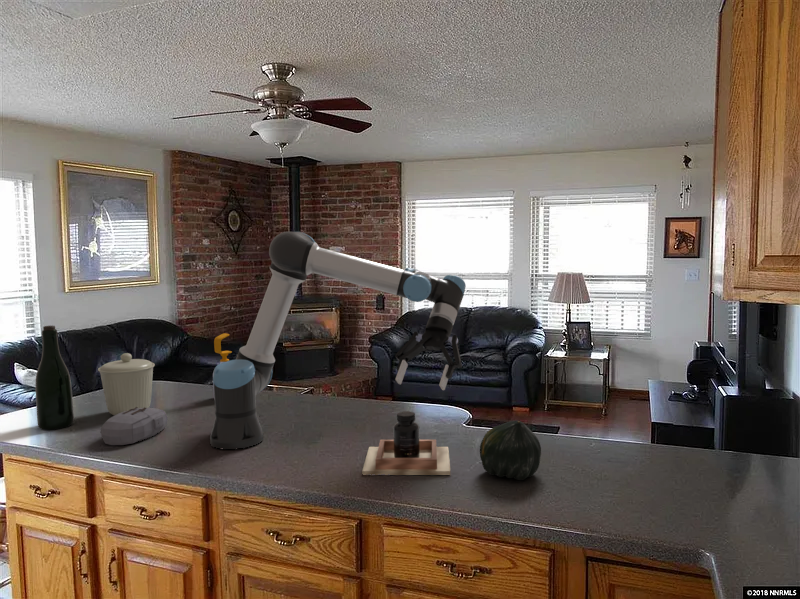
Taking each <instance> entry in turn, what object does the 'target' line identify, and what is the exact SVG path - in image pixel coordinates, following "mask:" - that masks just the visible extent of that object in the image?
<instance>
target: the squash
mask: <svg viewBox="0 0 800 599" xmlns="http://www.w3.org/2000/svg"><path fill="white" fill-rule="evenodd" d="M541 455H542V447H541V442H540V440H539V438H538V437H537V436H536V434H535V433H534V432H533V431H532V430H531V429H530V428H529V427H528V426H527V425H526V424H525V423H524V422H522V421H521V420H510V421H507V422H505V423H502V424H498V425H495V426H494V427H492V428H490V429H489V430H488V431H487V432H486V433H485V434H484V436H483V438H482V439H481V442H480V446H479V457H480V460H481V464H482V467H483V469H484V471H485V472H486V473H488V474H489V475H492V476H497V477H498V478H499V477H500V478H503V477H506V478H507V479H512V478H513V479H514V480H517V481H523V480H525V479H527V478H530V477H532V476H534V475H535V473H536V472H537V471H538V469H539V467H540V463H541Z"/></svg>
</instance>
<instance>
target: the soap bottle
mask: <svg viewBox="0 0 800 599" xmlns="http://www.w3.org/2000/svg"><path fill="white" fill-rule="evenodd" d="M229 336H230V334H229V333H224V332H223V333H222V334H219V335H217V336H216V337H215V338H214V341H213V346H214V352H215V353H216V354H220V356H221V359H219V360H220V361H219V364H220V363H223V362H227V361H230V359H229V358H228V357H227V356H229V354H231V353H232V352H233V351H231V350H222V345H221V344H222V343H221V342H222V340H224V339H225V338H227V337H229ZM213 376H214V371H213V373H212V377H213ZM212 385H213V386H212V387H213V391H214V382H212Z"/></svg>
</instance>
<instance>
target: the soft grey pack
mask: <svg viewBox="0 0 800 599" xmlns="http://www.w3.org/2000/svg"><path fill="white" fill-rule="evenodd" d="M168 421H169V420H168V415H167V412H166V411H165V410H163V409H160V408H158V407H157V408H156V407H155V408H154V407H149V408H145V407H144V408H138V407H135V408H134V409H130V410H129V411H124V412H122V413H119V414H117V415H115V416H114V415H112V416H111V417H109V418H108V419H107V420H106V421H104V423H103V424H102V425H101V427H100V431H99V432H100V434H101V437H102V439H103V440H102V441H103V442H104V444H106V445H109V446H124V445H125V446H126V445H130V444H134V443H139V442H143V441H145V440H148V439H150V438H153V437H154V436H156V435H158V434H159V433H161V432H162V431H163V430H164V429H166V427H167V425H168ZM160 431H161V432H160ZM157 433H158V434H157ZM152 436H153V437H152ZM149 437H150V438H149ZM147 438H148V439H147ZM144 439H145V440H144ZM142 440H143V441H142ZM138 441H139V442H138Z"/></svg>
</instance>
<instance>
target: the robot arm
mask: <svg viewBox="0 0 800 599" xmlns="http://www.w3.org/2000/svg"><path fill="white" fill-rule="evenodd" d="M268 254H269V258H270V261H271V264H270V265H269V269H270V272H271V274H272V275H271V278H270V280H269V283H268V284H267V285H268V286H267V288H266V291H265V293H264V296H263V300H262V302H261V305H260V307H259V309H258V313H257V315H256V319H255V320H254V324H253V327H252V329H251V331H250V334H249V337H248V340H247V342H246V345H243V346H241V347H240V348H239V350H238V353H237V354H236V358H235V359H231V360H230V359H229V361H227V362H223V363H220V362H219V363H218V364H217V365H216V366H215V367H214V368H213V369H214V370H213V372H214V376H213V375H212V381H213V382H214V390H213V399H214V413H215V414H214V415H215V416H214V422H213V426H212V428H211V431H210V432H211V433H210V437H209V439H210V440H209V442H210V444H211V445H210V446H211V447H212V446H213V447H212V448H214V447H216V448H215V449H217V448H223V449H235V450H237V449H236V448H243V449H246V448H245V447H248V448H250V447H249V446H252V447H254V446H253V445H255V446H257V445H259V444H261V443H262V442H263V441H264V431H263V428H262V426H261V424H260V420H259V418H258V415H257V402H256V399H257V398H256V396H257V395H259V393H260V392H262V391H264V390H265V389H266V388H267V387H268V386H269V385H270V382H271V380H272V378H273V367H274V365H275V362H276V358H275V356H274V352H275V348H276V345H277V343H278V341H279V338H280V336H281V334H282V330H283V328H284V325H285V323H286V319H287V316H288V314H289V312H290V310H291V307H292V304H293V302H294V301H293V300H294V297H295V296H296V293H297V290H298V288H299V285H300V284H302V283H304V282H306V280H307V278H308V276H309V275H312V274H316V275H318V276H319V275H320V276H323V277H327V278H330V279H335V280H338V281H343V282H345V283H350V284H353V285H356V286H360V287H363V288H368V289H373V290H376V291H380V292H384V293H387V294H391V295H395V296H398V297H401V298H405V299H408V300H410V301H411V302H415V303H421V302H423V301H425V300H427V302H428V301H429V302H432V303H433V306H432V309H431V312H430V314H429V318H428V320H427V323H426V325H425V328H424V329H425V330H424V332H423V333H419V332H418V331H414V332H413V334H412V336H411V338H409V339H408V340H407V342H405V344H404V345H402V347H401V348H400V349H399V350H398V351H397V352H396V353H395V355H394V357H395V358H396V360H397V361H398V364H397V366H396V372H397V374H396V376H395V379H394V380H395V381H396V384H398V385H402V383H403V380H404V377H405V374H406V372H407V368H408V366H409V364H408V362H410V361H411V360H413V359H414V358H415V357H416V356H418V355H419V354H420V353H422V352H425V351H427V350H428V351H437V352H438V351H441V352H442V354H443V356H444V357H445V359H446V361H447V364H445V366H444V368H443V372H442V375H441V378H440V382H439V384H438V386H439V387H440V389H441V390H442V391H445V390H446V387H447V384H448V380H450V379H452V378H453V374H454V372H455V369H462V367H463V362H462V360H461V354H460V349H459V342H460V340H459V339H458V336H457V335H456V334H454V335H453V336H451V335H452V330H453V328H454V324H455V321H456V319H457V316H458V312H459V311H460V306H461V305H462V304H461V303H462V302H463V298H464V295H465V291H466V282H465V280H464V279H463V278H461V277H460V276H458V275H455V274H453V275H452V274H447V275H445V276H444V277H443V278H439V277H436V276H433V275H431V274H428V273H426V272H424V271H420V270H418V269H417V268H416V269H415V268H412V267H406V268H405V269H401V268H397V267H393V266H390V265H387V264H382V263H378V262H375V261H371V260H368V259H364V258H361V257H357V256H353V255H351V254H345V253H342V252H339V251H335V250H330V249H327V248H324V247H323V248H322V247H320V246H319V245H318V243H317V242H316V241H315V240H314V239H313V237H311V236H310V235H308V234H306V233H305V232H302V231H283V232H281V233H279V234H277V235H276V236H274V237H273V239H272V240H271V242H270V245H269V250H268ZM449 343H450V344H451V348H452V352H453V357H454V361H453V359H452V357H451V356H450V354H449V352H448V351H447V349H446V345H448V344H449ZM213 382H212V383H213ZM262 440H263V441H262ZM261 441H262V442H261ZM260 442H261V443H260ZM258 443H259V444H258ZM256 444H257V445H256ZM223 449H222V450H223Z"/></svg>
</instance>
